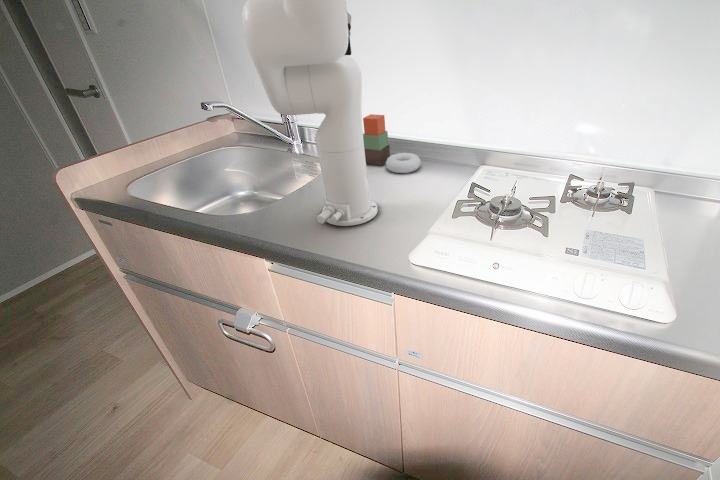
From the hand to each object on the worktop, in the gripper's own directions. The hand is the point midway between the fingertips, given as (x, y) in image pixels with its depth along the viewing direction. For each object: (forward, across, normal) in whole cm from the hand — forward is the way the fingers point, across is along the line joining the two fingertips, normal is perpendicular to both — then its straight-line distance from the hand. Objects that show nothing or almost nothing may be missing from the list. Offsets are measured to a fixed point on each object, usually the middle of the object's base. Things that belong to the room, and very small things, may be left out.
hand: (335, 57), depth 91 cm
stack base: (+28, -6, +6) cm, 30 cm away
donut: (+28, -3, +16) cm, 33 cm away
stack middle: (+24, -6, +6) cm, 25 cm away
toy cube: (+20, -6, +6) cm, 22 cm away
